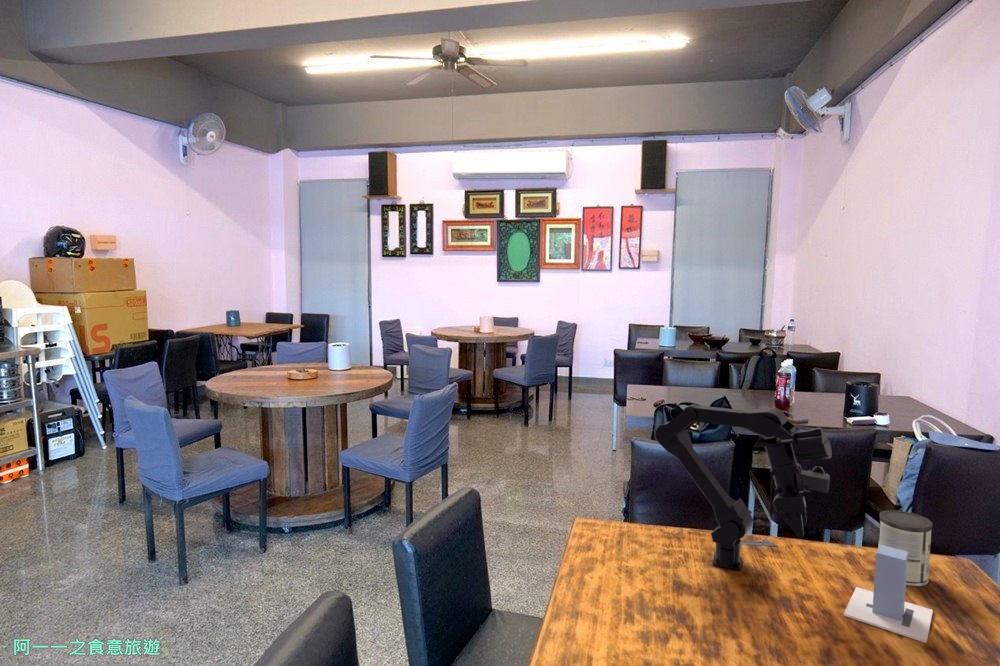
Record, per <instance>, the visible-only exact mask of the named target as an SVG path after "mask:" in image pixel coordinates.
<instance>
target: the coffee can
mask: <svg viewBox="0 0 1000 666" xmlns="http://www.w3.org/2000/svg"><path fill="white" fill-rule="evenodd" d="M933 526H934V523H933V522H932V520H930V519H928V518H927V517H925V516H922V515H919V514H917V513H914V512H910V511H903V510H897V509H893V510H892V509H891V510H890V509H888V510H882V511H880V512H879V529H878V547H877V549H878V548H879V546H880V545H884V546H888V547H892V548H896V549H900V550H904V551H908V564H907V578H906V586H910V587H923V586H927V585H928V583H929V574H930V573H929V571H930V558H931V556H930V555H931V545H932V544H931V542H932V540H931V539H932V529H933Z"/></svg>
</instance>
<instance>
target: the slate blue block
mask: <svg viewBox="0 0 1000 666" xmlns="http://www.w3.org/2000/svg"><path fill="white" fill-rule="evenodd" d="M907 564H908V551H904V550H900V549H896V548H892V547H888V546H884V545H880V546H879V548H878V547H877V551H876V552H875V567H874V568H875V569H874V581H873V582H874V583H873V592H874V594H873V610H872V612H873V613H877V614H880V615H883V616H886V617H889V618H892V619H895V620H898V621H901V620H902V617H903V613H904V606H905V602H906V591H907V590H906V588H907V585H906V578H907Z"/></svg>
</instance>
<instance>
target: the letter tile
mask: <svg viewBox="0 0 1000 666" xmlns="http://www.w3.org/2000/svg"><path fill="white" fill-rule="evenodd" d="M873 594H874V591H871V590H868V589H865V588H860V587H859V586H856V587H855V589H854V592H853V593H852V596H851V598H850V599H849V602H848V604H847V606H846V608H845V610H844V613H843V616H844V617H846V618H849V619H853V620H855V621H859V622H861V623H864V624H868V625H871V626H874V627H877V628H879V629H882V630H886V631H889V632H892V633H894V634H897V635H900V636H904V637H906V638H910V639H913V640H916V641H919V642H921V643H923V644H924V643H925V644H927V643H928V642H927V641H928V637H929V634H930V633H929V632H930V627H931V624H932V623H931V622H932V618H933V612H934V610H933V609H930V608H927V607H926V606H925V607H924V606H922V605H917V604H914V603H911V602H908V601H905V606H904V613H903V617H902V620H901V621H898V620H895V619H892V618H889V617H886V616H883V615H880V614H877V613H873V612H872V610H873Z"/></svg>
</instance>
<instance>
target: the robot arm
mask: <svg viewBox="0 0 1000 666" xmlns="http://www.w3.org/2000/svg"><path fill="white" fill-rule="evenodd" d="M695 423H703V424H710V425H720V426H726V427H727V426H728V427H734V428H741V429H744V430H747V431H749V432H751V433H753V434H756V435H760V436H758V439H757V441H756V442H755V444H754V448H762V447H764V449H765V452H766V456H767V459H768V462H769V467H770V470H769V472H770V476H771V477H773V480H774V485H775V493H776V495H775V497H774V499H773V500H772V507H773V509H774V512H776V513H777V514H778V515H779V516H780V517H781V518H782V520H784V522H785V523H786V524H787V525H788V526H789V527H790V529H791V531H792V532H793V533H794V534H795V535H796V536H797V538H799V539H801V538H804V536H805V535H804V533H805V532H804V525H807V523H808V521H807V507H808V506H807V502H806V500H807V498H808V497H809V496H810V494H811V490H813V491H817V492H820V493H823V494H827V493H829V489H830V479H831V475H830V474H829V473H826V472H825V469H824V468H823V466H817V465H815V466H814V467H813V468H812V470H810V469H808V470H805V469H802V466H801V464H799V462H797V458H798V459H801V461H803V462H807V461H815V460H826V459H831V458H832V455H833V453H832V452H833V451H832V445H831V442H830V440H829V439H828V436H827V435H826V434H825V432H824V430H823V427H816V428H813V429H805V430H801V429H800V428H799V427H798V426H796V425H795V424H794V423H792V422H791V421H790V420H788V417H787V416H786V414H785V412H783V411H782V409H779V408H777V407H767V408H764V407H763V408H755V409H744V410H743V409H735V408H725V407H719V406H718V407H716V406H709V405H708V406H707V405H699V404H696V403H695V404H691V405H688V406H685V407H684V409H683V410H682V411H681V412H680V413H679V414H678V415H676V416H674V418H672V419H671V420H670V421H667V422H665V423H663V424H661V425H659V426H658V427H657V428H656V430H655V436H654V437H655V440H656V442H657V443H658V444H659V445H660V446H661V447H662V448H663V449H664V450H665V451H666V452H667V453H669V454H671V455H672V456H674V457H675V458H677V460H678V461H679V462H680V463H681V465H682V466H683V468H684V469H685V471H686V472H687V473H688V474H689V476H690V478H691V479H692V480H693V481H694V483H695V484H696V485H697V487H698V488H699V490H700V491H701V492H702V494H703V495H704V497H705V498H706V500H708V502H709V503H710V505H711V506H712V508H713V510H714V515H715V520H716V522H717V524H718V526H717V527H716V528H715V529H713V530H712V532H711V533H710V535H711V539H712V542H713V543H715V551H714V555H713V558H712V562H711V563H712V564H711V565H713V566H715V567H716V566H717V567H721V568H725V569H731V570H736V571H741V570H742V563H743V558H742V557H741V543H742V542H741V539H743V538H744V537H745V536H747V534H748V533H749V532H750V530H751V529H752V527H754V526H753V525H754V518H753V516H752V513H753V511H751V510H750V509H749V508H748V507H747V506H746V504H745V502H744V500H743V499H742V498H739V499H738V500H735V499H733V498H732V497H730V496H729V494H728V493H727V492H726V491H725V490H724V488H723V487H722V485H721V484H720V482H718V480H717V478H716V477H715V476H714V474H713V473H712V471H710V468H708V466H707V465H706V464H705V463H704V461H703V460H702V458H701V457H700V456H699V454H698V453H697V451H696V450H695V449H694V447H693V443H692V439H691V436H690V434H689V432H688V430H689V429H691V428H692V427H693V425H694V424H695Z"/></svg>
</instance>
